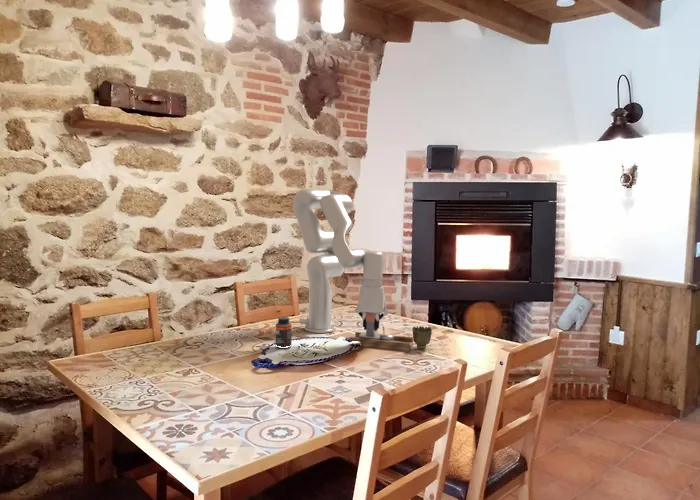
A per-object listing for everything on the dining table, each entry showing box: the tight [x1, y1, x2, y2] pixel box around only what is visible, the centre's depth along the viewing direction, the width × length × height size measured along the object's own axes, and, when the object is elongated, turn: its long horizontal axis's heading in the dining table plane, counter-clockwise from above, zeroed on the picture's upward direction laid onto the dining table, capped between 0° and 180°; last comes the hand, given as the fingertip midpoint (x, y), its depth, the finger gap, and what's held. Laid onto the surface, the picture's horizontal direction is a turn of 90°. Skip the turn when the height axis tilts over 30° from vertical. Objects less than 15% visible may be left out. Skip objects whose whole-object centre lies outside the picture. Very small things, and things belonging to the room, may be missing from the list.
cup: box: [411, 325, 433, 350], centre depth 214 cm, size 8×7×8 cm
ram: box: [359, 313, 395, 341], centre depth 218 cm, size 13×6×10 cm, turn 75°
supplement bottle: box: [275, 316, 293, 347], centre depth 210 cm, size 6×6×11 cm
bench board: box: [349, 331, 414, 352], centre depth 218 cm, size 23×10×3 cm, turn 75°
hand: (370, 329), depth 218 cm, fingers closed on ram, 3 cm apart
